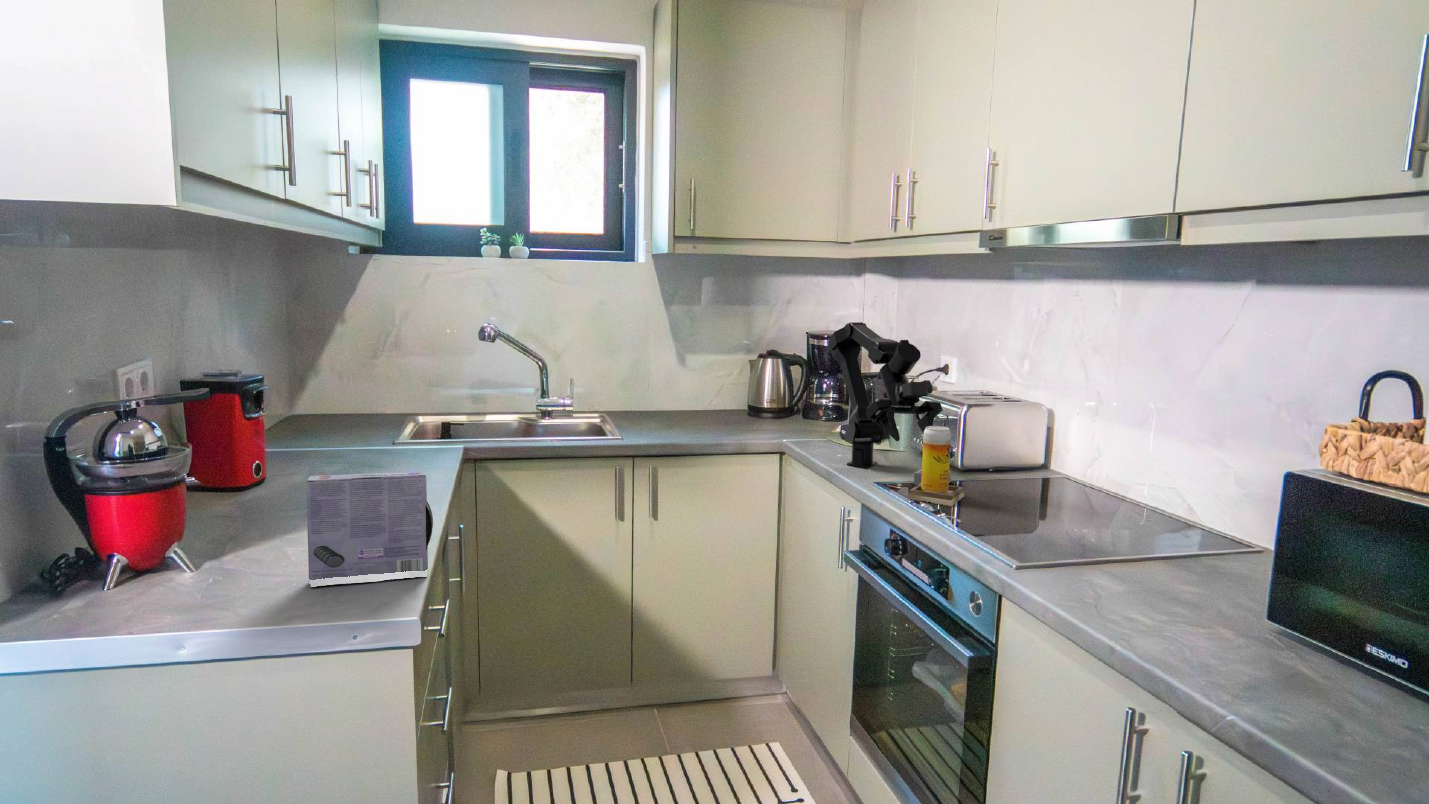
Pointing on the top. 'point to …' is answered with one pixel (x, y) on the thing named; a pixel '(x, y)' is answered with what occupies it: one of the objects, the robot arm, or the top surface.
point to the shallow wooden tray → (937, 495)
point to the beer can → (936, 459)
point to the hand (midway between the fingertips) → (914, 440)
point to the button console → (919, 475)
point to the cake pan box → (367, 524)
